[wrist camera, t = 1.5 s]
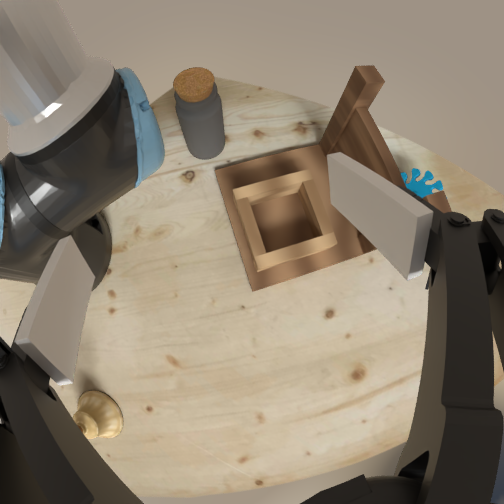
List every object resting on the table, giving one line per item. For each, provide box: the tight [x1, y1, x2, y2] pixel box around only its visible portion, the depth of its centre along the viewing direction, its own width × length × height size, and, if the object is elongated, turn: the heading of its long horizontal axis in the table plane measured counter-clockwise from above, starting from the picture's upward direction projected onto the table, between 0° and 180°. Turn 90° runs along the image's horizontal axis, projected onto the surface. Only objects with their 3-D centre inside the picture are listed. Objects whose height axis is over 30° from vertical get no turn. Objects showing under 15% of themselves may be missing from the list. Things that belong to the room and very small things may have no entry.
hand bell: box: [73, 391, 123, 439], centre depth 28 cm, size 8×8×16 cm
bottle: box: [173, 67, 225, 159], centre depth 36 cm, size 6×6×15 cm
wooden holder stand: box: [215, 66, 452, 291], centre depth 33 cm, size 19×18×19 cm
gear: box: [400, 168, 447, 198], centre depth 41 cm, size 11×6×10 cm
